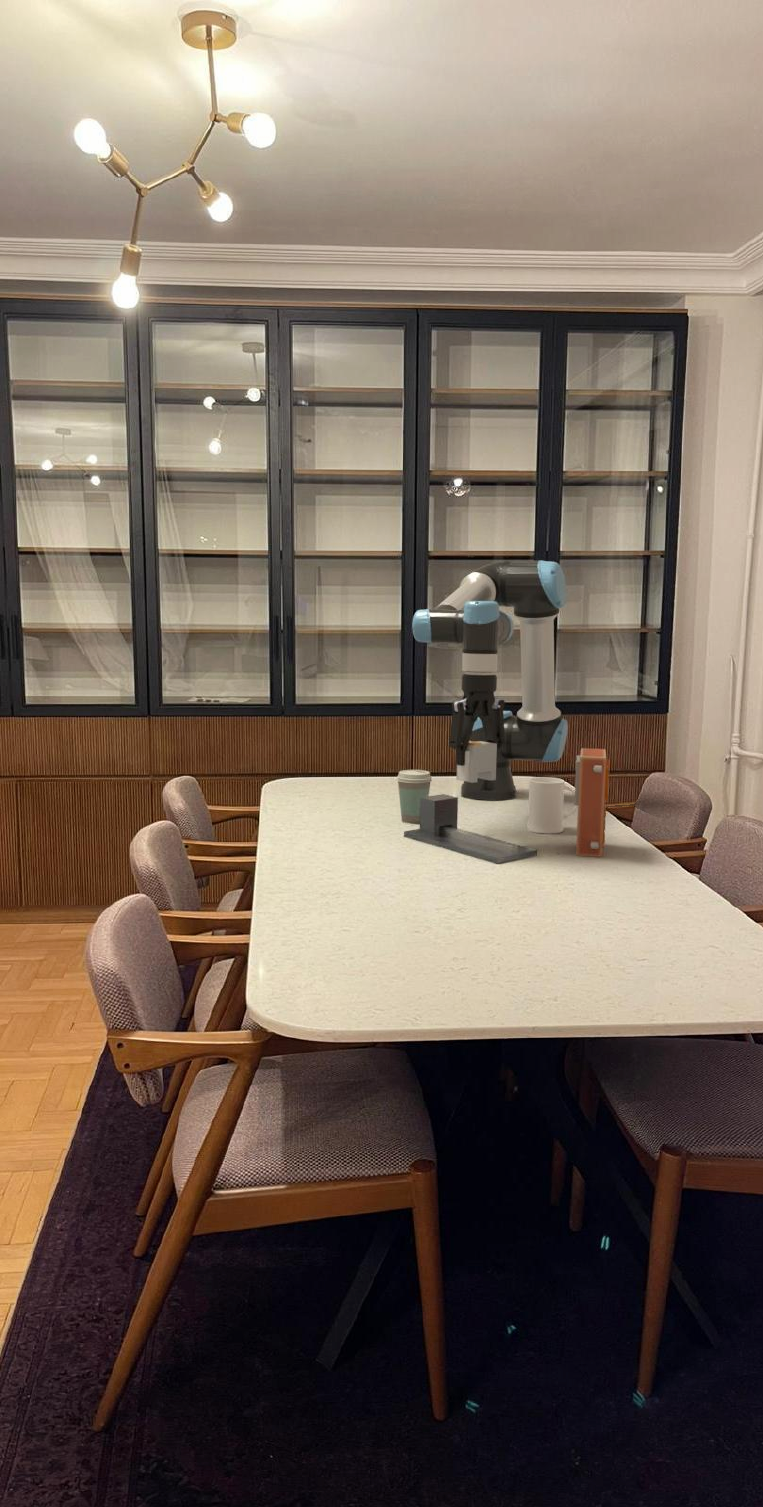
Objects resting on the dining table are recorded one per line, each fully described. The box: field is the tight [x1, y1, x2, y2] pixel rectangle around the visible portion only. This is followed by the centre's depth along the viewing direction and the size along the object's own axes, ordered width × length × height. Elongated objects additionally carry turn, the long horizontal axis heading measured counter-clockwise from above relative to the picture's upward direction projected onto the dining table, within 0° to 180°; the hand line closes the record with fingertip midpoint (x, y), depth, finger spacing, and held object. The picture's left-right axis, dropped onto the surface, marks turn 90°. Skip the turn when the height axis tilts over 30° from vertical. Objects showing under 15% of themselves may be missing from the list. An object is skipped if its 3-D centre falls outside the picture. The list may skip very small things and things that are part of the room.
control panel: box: [573, 747, 610, 858], centre depth 225 cm, size 21×7×15 cm
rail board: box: [403, 793, 538, 865], centre depth 228 cm, size 30×12×9 cm, turn 38°
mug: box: [526, 776, 578, 835], centre depth 245 cm, size 12×8×12 cm
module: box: [456, 741, 497, 783], centre depth 226 cm, size 5×7×8 cm
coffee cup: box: [396, 769, 433, 824], centre depth 253 cm, size 8×8×12 cm
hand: (476, 778), depth 226 cm, fingers closed on module, 7 cm apart
